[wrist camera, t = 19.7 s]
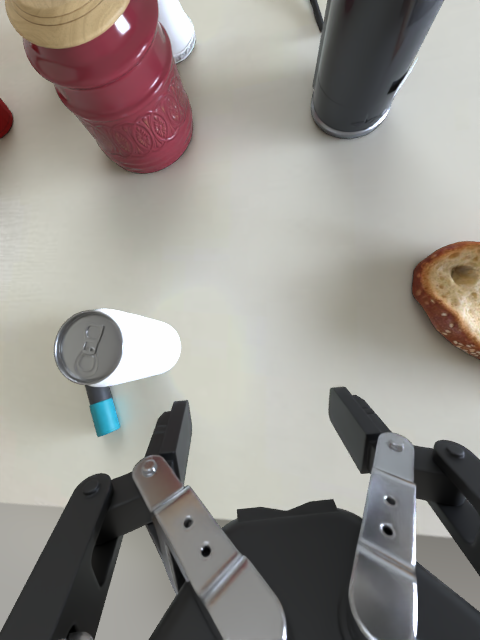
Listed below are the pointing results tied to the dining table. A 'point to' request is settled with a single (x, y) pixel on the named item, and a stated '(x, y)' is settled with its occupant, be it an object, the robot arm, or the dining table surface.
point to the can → (114, 347)
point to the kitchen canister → (111, 74)
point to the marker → (102, 409)
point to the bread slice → (452, 293)
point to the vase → (177, 28)
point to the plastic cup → (5, 119)
